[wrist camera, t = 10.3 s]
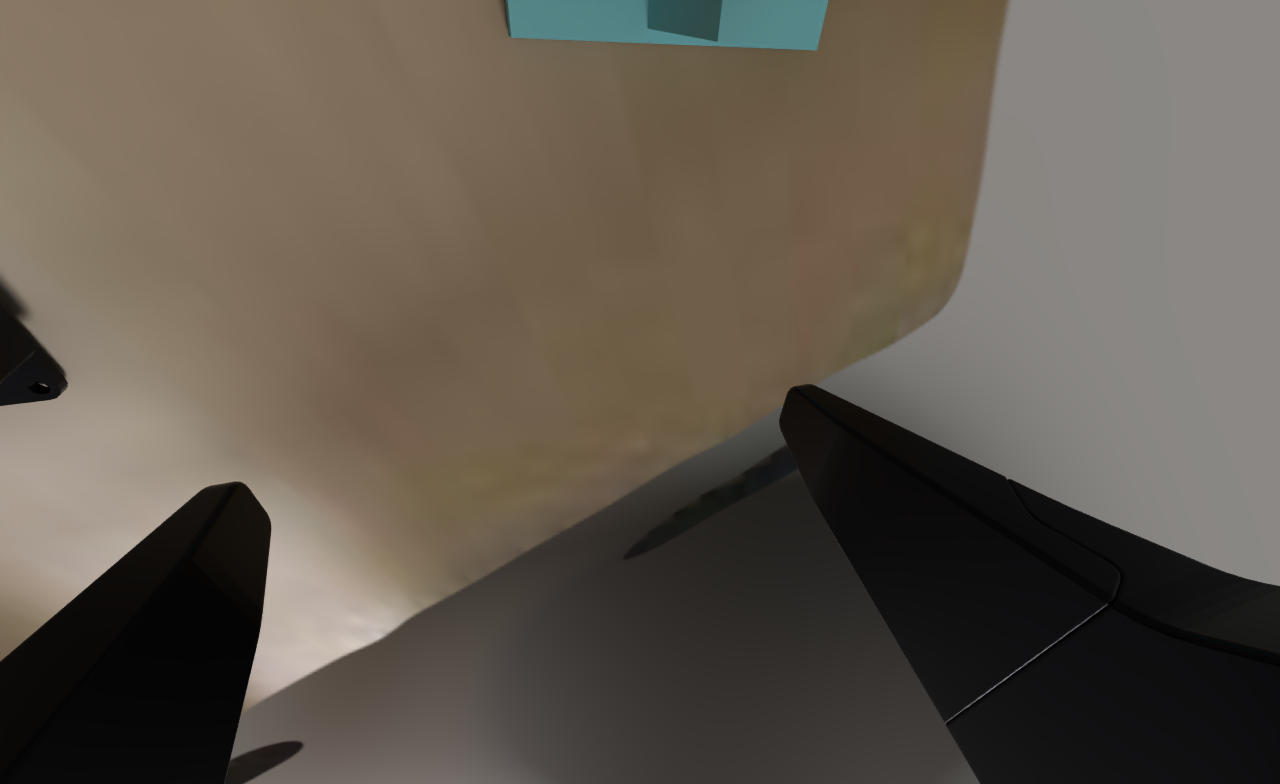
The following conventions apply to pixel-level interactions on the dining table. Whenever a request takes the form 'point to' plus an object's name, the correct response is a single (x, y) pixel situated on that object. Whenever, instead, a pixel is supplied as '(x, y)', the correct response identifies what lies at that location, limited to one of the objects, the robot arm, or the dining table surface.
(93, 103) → the dining table surface
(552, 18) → the stub
